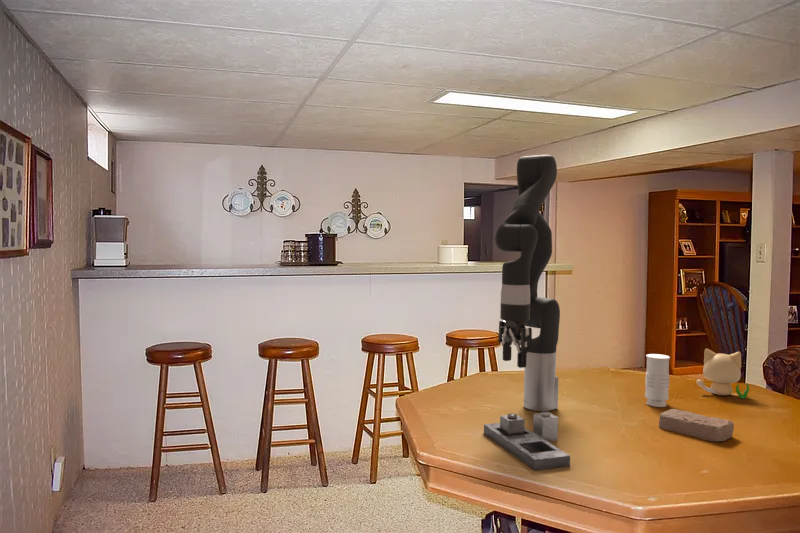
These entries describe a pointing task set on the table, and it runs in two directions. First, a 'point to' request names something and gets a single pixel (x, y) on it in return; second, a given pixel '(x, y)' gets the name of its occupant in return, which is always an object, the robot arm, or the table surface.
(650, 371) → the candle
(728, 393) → the kitten
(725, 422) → the brick
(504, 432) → the knobbed grey cube
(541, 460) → the grey slotted board
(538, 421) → the cube with silver knob
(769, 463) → the table surface
